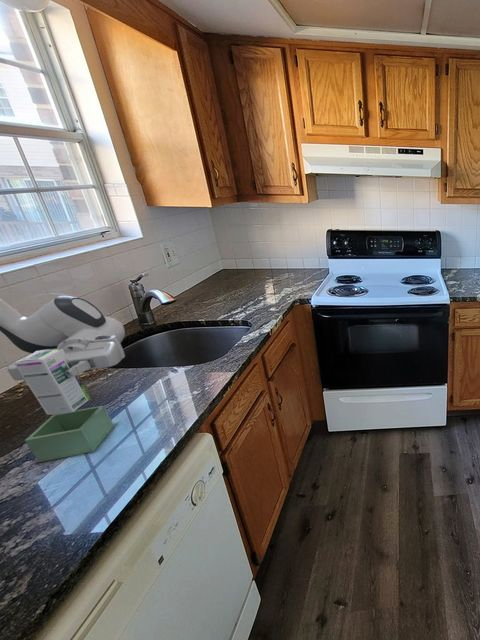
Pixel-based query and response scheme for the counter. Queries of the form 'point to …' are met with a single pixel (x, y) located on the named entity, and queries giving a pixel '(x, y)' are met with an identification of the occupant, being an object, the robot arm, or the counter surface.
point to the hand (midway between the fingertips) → (48, 377)
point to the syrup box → (52, 381)
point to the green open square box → (70, 433)
